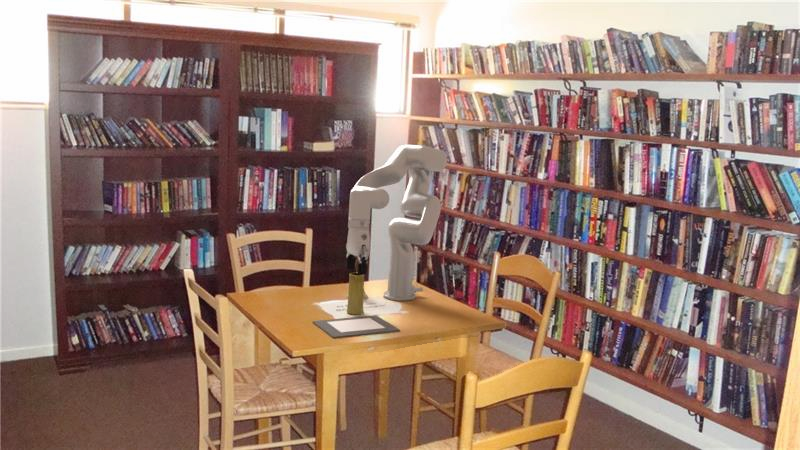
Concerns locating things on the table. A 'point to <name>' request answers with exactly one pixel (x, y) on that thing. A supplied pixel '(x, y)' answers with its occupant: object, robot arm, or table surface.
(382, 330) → the grey picture frame
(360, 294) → the vase
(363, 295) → the hand bell
